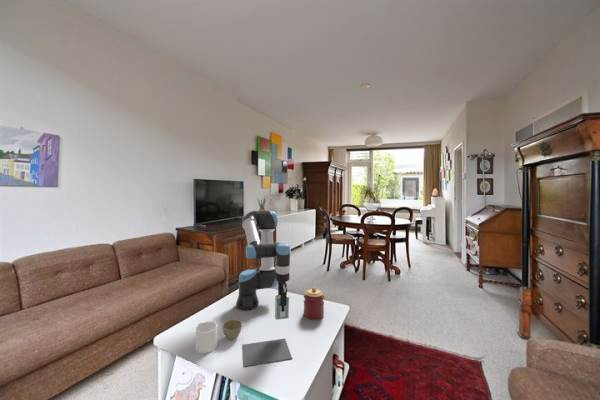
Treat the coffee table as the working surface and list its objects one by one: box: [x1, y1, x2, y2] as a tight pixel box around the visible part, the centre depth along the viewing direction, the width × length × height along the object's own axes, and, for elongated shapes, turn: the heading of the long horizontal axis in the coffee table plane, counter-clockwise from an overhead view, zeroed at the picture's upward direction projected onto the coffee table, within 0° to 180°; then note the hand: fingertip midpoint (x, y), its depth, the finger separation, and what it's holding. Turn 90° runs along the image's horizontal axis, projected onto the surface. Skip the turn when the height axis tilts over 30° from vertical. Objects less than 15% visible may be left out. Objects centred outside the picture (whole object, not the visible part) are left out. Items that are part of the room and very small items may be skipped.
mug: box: [195, 321, 218, 354], centre depth 122 cm, size 13×10×10 cm
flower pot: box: [222, 319, 243, 341], centre depth 130 cm, size 10×10×7 cm
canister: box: [303, 286, 325, 321], centre depth 155 cm, size 13×13×18 cm
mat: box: [242, 338, 293, 368], centre depth 118 cm, size 16×22×1 cm
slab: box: [274, 294, 290, 321], centre depth 133 cm, size 3×7×12 cm, turn 105°
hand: (281, 314), depth 133 cm, fingers closed on slab, 3 cm apart
